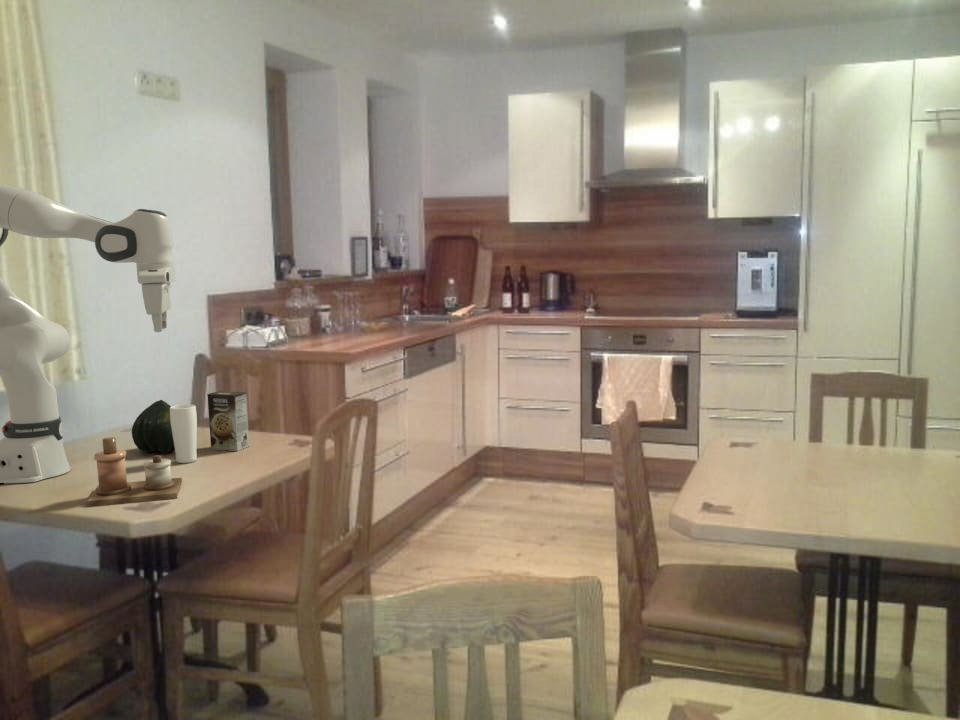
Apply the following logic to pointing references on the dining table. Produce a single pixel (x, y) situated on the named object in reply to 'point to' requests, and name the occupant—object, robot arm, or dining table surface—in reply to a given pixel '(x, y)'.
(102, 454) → the jar lid
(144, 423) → the squash
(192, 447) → the drinking glass
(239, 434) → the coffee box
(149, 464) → the holder
